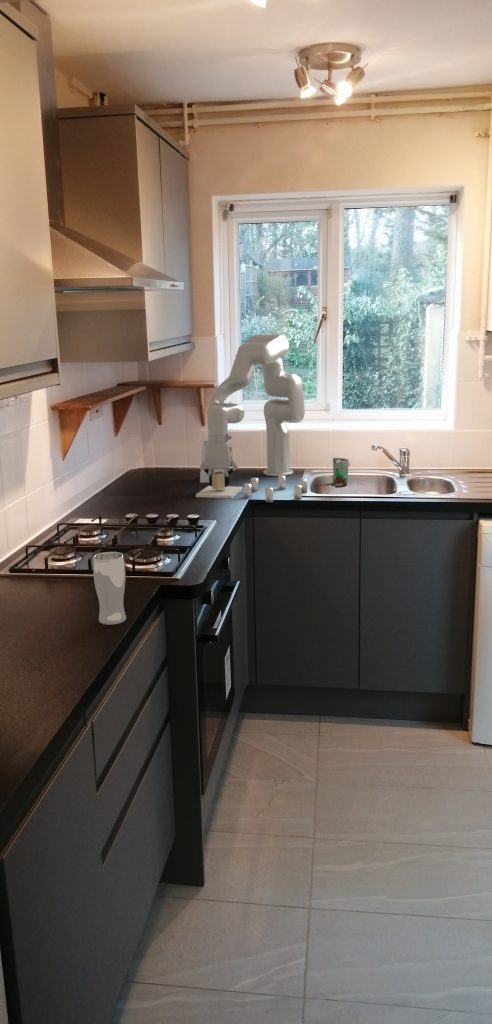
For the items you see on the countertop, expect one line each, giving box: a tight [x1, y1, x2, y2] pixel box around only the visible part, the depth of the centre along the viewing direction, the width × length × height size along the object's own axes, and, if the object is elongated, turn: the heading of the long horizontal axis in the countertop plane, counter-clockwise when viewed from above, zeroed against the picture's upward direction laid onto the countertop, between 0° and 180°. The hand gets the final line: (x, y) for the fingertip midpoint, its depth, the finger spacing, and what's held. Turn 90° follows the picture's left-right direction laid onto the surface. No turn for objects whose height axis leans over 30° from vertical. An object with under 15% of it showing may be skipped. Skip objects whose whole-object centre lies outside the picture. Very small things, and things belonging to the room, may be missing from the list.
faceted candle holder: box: [212, 471, 227, 490], centre depth 310 cm, size 6×5×6 cm
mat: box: [195, 485, 244, 499], centre depth 312 cm, size 16×14×1 cm
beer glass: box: [92, 551, 127, 626], centre depth 181 cm, size 7×7×15 cm
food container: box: [332, 457, 351, 489], centre depth 319 cm, size 12×6×10 cm, turn 179°
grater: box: [199, 430, 224, 483], centre depth 335 cm, size 10×10×20 cm
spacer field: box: [243, 476, 308, 503], centre depth 306 cm, size 25×22×5 cm
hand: (219, 485), depth 311 cm, fingers closed on faceted candle holder, 5 cm apart
